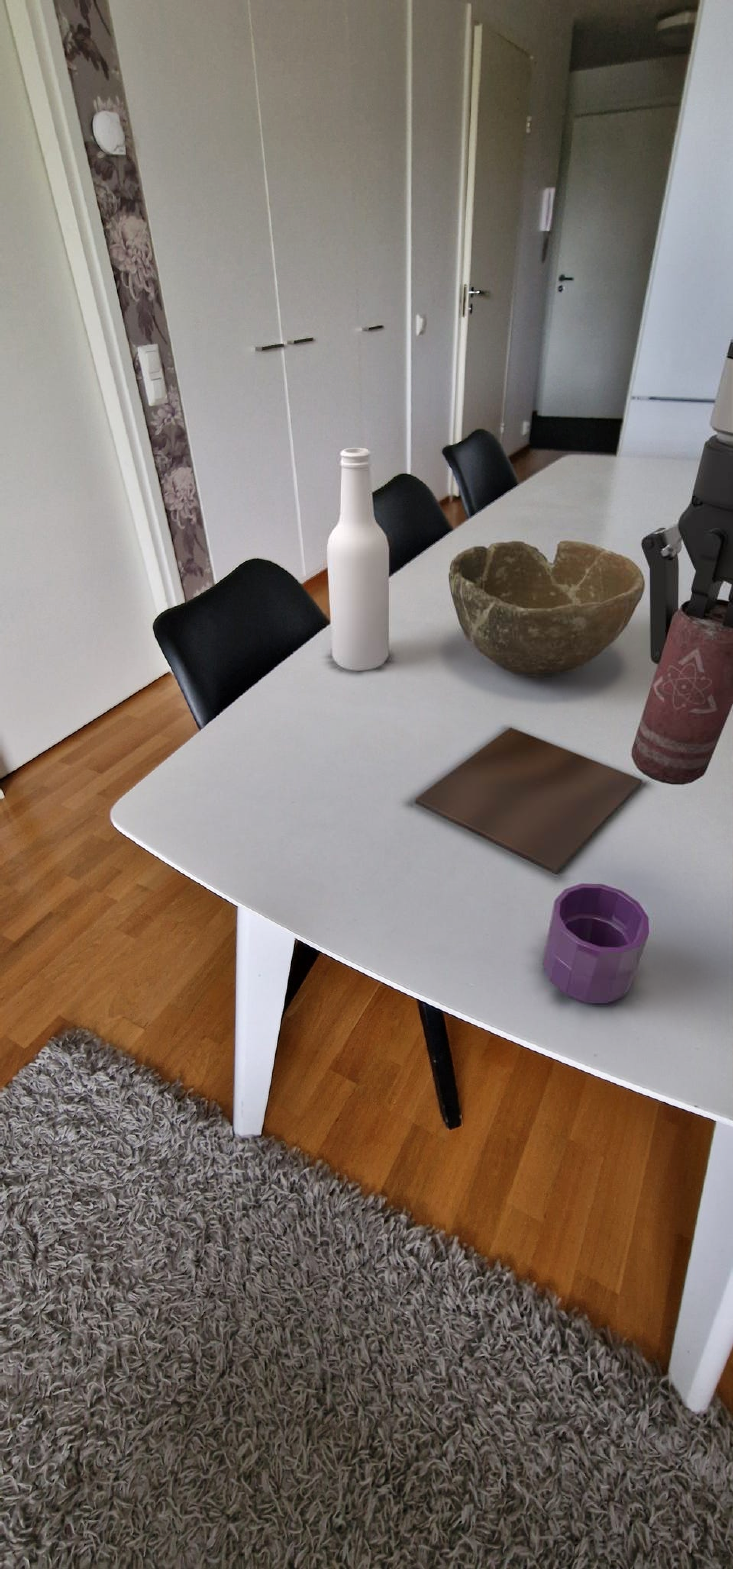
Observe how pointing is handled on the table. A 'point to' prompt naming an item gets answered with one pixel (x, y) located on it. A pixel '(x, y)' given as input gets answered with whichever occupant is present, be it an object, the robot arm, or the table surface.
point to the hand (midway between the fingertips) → (679, 747)
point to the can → (687, 699)
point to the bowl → (543, 603)
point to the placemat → (530, 797)
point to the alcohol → (358, 571)
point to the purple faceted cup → (595, 942)
